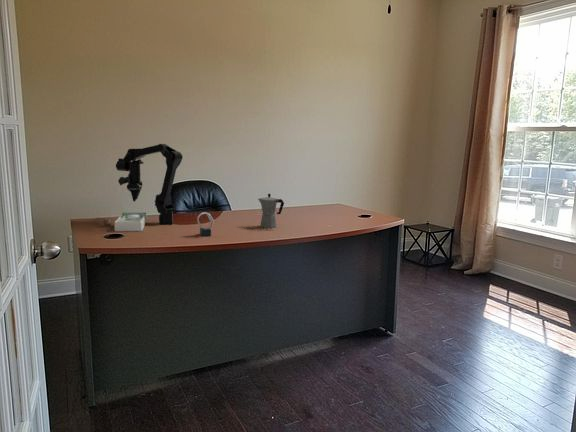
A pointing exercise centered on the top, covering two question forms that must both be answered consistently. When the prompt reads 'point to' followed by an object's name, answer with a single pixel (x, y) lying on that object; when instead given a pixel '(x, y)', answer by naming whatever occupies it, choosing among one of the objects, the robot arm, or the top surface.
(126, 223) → the shallow white bin
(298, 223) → the top surface
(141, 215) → the drawer
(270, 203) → the coffeepot
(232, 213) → the top surface
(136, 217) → the dome
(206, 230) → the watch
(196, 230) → the top surface
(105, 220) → the stand
